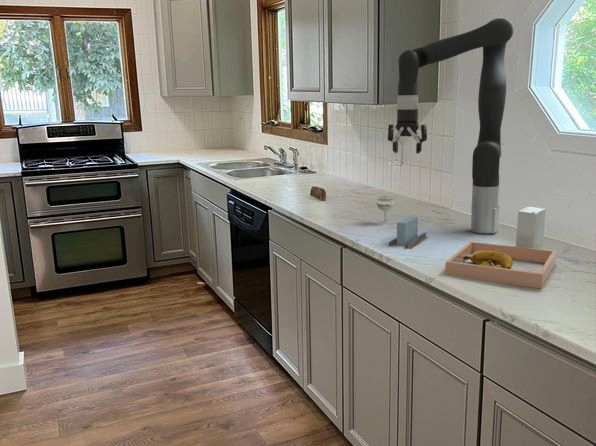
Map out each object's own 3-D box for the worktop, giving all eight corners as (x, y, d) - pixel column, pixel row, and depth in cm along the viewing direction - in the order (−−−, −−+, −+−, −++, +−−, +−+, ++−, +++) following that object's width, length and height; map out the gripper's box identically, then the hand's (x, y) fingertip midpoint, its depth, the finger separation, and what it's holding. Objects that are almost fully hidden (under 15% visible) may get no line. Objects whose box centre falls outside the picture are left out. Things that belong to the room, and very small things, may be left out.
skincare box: (524, 250, 189) (527, 205, 185) (543, 253, 185) (546, 208, 181) (514, 255, 183) (516, 210, 179) (533, 258, 179) (536, 212, 175)
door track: (428, 239, 205) (429, 233, 204) (411, 252, 190) (411, 244, 189) (405, 237, 209) (405, 230, 209) (385, 248, 194) (385, 241, 194)
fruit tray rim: (555, 263, 173) (556, 250, 172) (541, 288, 152) (542, 274, 151) (469, 253, 187) (470, 241, 186) (445, 275, 165) (445, 261, 164)
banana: (477, 260, 180) (478, 242, 178) (527, 275, 163) (528, 256, 162) (440, 268, 172) (441, 249, 171) (489, 285, 156) (490, 265, 155)
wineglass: (393, 229, 221) (393, 199, 218) (376, 229, 222) (376, 199, 220) (394, 226, 227) (394, 196, 225) (377, 225, 229) (377, 196, 226)
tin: (309, 201, 284) (309, 185, 282) (315, 201, 285) (315, 184, 283) (321, 207, 270) (320, 189, 268) (327, 206, 271) (326, 189, 269)
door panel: (417, 238, 203) (417, 216, 201) (405, 246, 193) (405, 223, 191) (409, 237, 205) (409, 215, 203) (396, 245, 195) (397, 222, 193)
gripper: (430, 107, 206) (429, 152, 209) (393, 108, 213) (392, 151, 217) (423, 108, 200) (422, 154, 203) (385, 108, 207) (384, 153, 210)
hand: (406, 153), depth 210 cm, fingers open, 8 cm apart
